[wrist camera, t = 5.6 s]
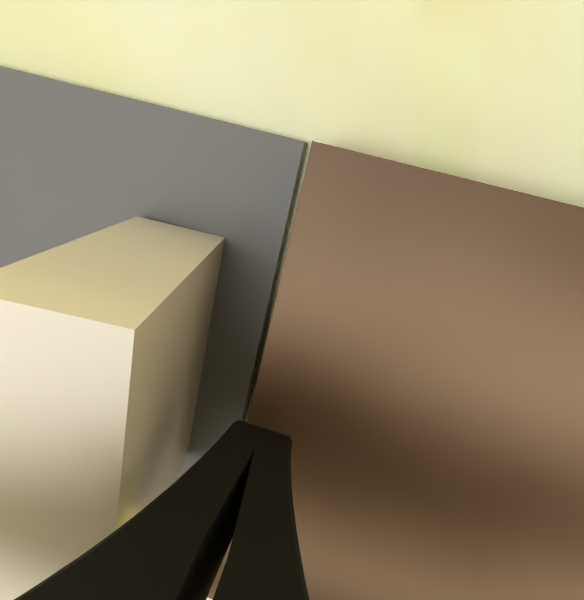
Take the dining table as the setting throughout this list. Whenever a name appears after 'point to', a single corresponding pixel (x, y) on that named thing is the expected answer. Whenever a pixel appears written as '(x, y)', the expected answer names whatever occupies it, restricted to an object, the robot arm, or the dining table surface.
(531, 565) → the board
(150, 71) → the dining table surface
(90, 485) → the tile
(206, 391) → the mat
